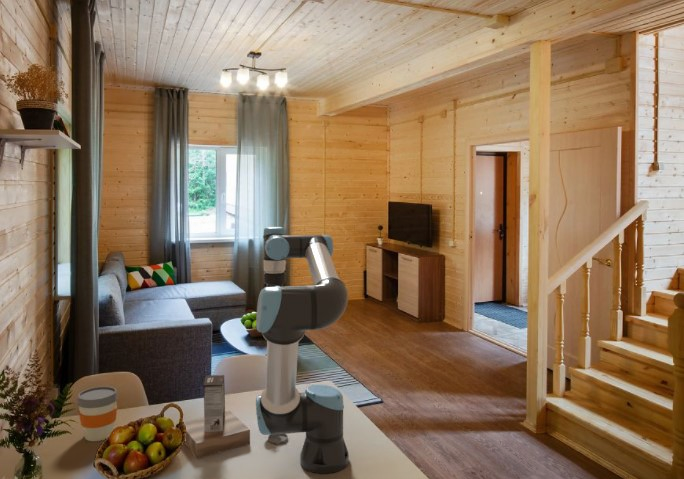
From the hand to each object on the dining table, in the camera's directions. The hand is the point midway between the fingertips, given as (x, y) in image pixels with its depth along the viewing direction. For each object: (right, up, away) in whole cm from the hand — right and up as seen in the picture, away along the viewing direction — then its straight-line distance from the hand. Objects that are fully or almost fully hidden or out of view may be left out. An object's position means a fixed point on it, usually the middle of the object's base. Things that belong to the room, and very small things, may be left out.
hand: (275, 331), depth 188 cm
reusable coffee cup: (-60, -35, -3) cm, 70 cm away
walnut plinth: (-20, -36, -7) cm, 41 cm away
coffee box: (-19, -31, -7) cm, 37 cm away
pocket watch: (+1, -36, -6) cm, 36 cm away
